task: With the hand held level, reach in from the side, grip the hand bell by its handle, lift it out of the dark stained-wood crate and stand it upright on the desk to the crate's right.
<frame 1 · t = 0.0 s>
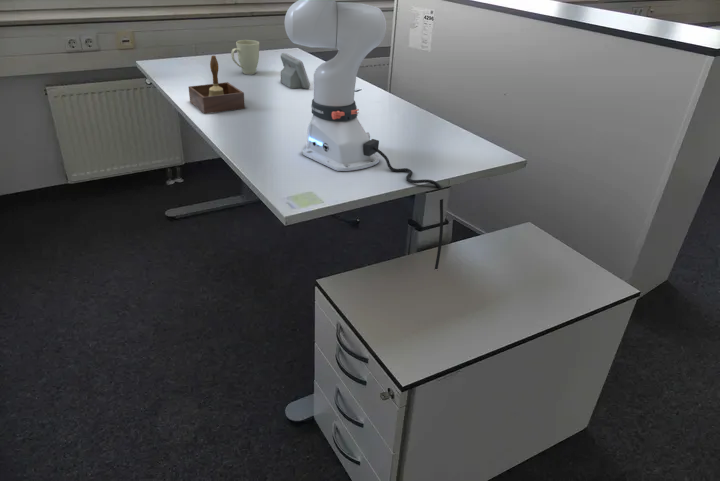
digital clock: (295, 85, 215), on the table
mug: (247, 74, 225), on the table
crate: (217, 105, 189), on the table
hand bell: (217, 104, 188), resting on crate
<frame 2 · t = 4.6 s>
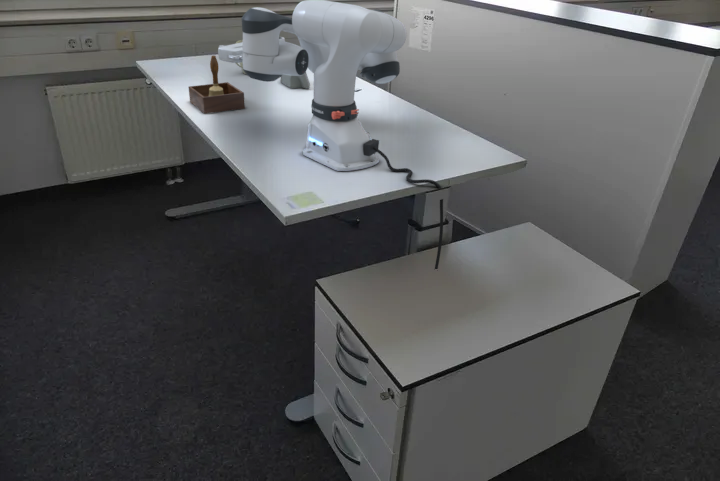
hand: (233, 45, 170), 22 cm above the table, tool horizontal, fingers open, 8 cm apart
nothing on the table moved.
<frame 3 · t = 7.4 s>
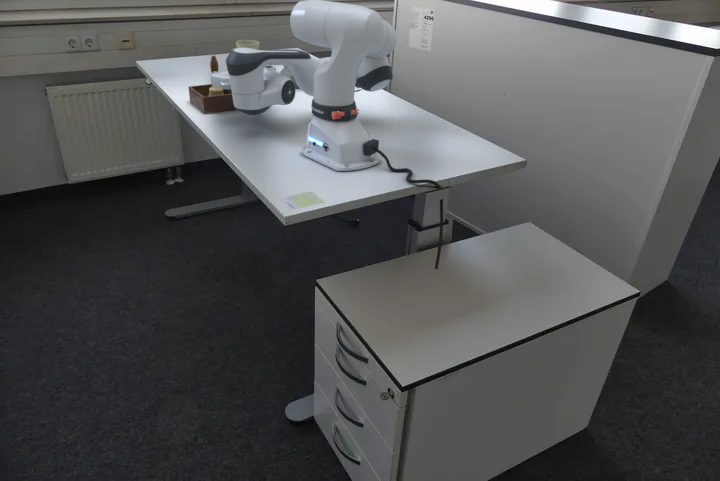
hand: (227, 71, 179), 12 cm above the table, tool horizontal, fingers open, 8 cm apart
nothing on the table moved.
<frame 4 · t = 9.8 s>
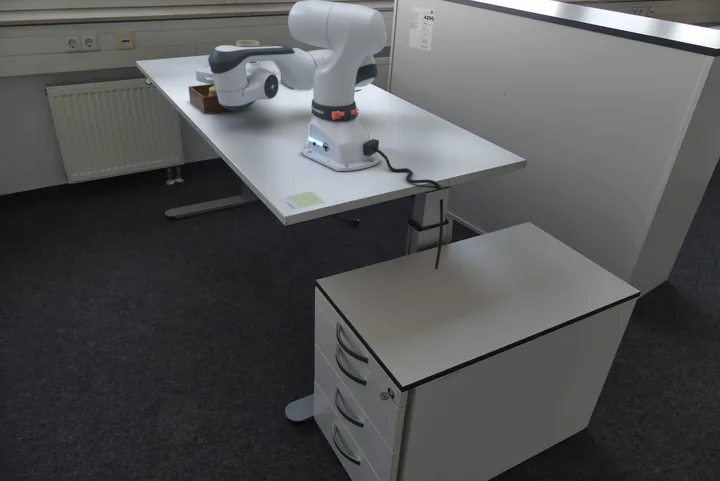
hand: (212, 66, 183), 13 cm above the table, tool horizontal, fingers closed on hand bell, 2 cm apart
hand bell: (217, 104, 188), resting on crate, touching gripper
everything else where it was.
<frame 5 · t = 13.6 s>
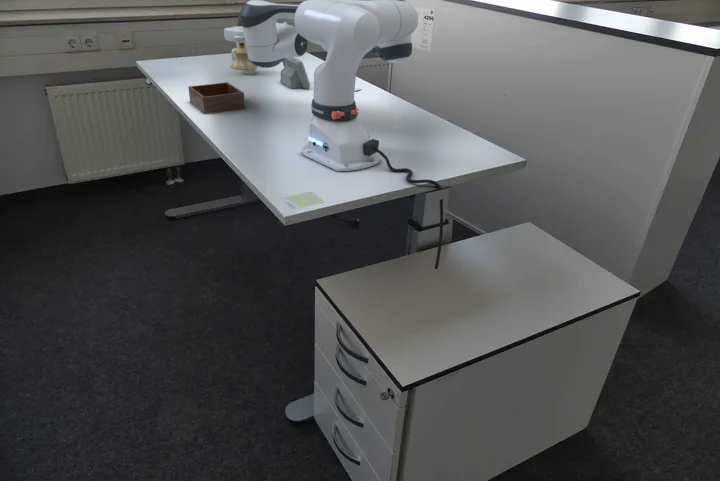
hand: (238, 28, 182), 24 cm above the table, tool horizontal, fingers closed on hand bell, 2 cm apart
hand bell: (242, 67, 188), point 11 cm above the table, touching gripper
everything else where it was.
when the fingers open (12 cm above the table, at t = 17.7 s): hand bell stays where it is, on the table.
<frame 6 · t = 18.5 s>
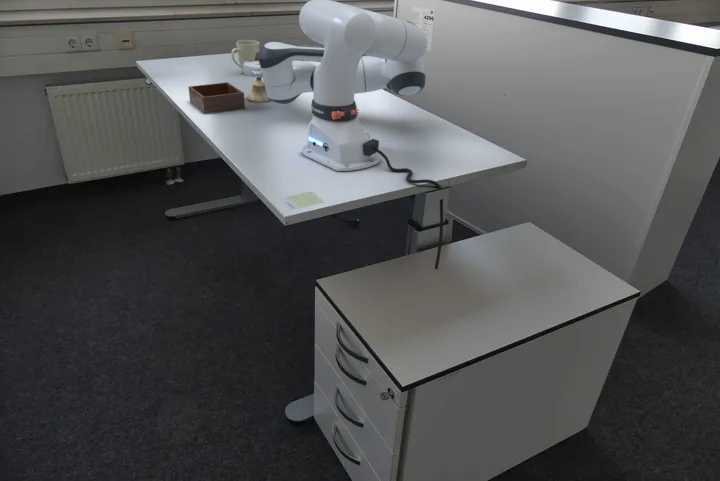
hand: (256, 61, 191), 13 cm above the table, tool horizontal, fingers open, 8 cm apart
hand bell: (259, 99, 197), on the table
everything else where it was.
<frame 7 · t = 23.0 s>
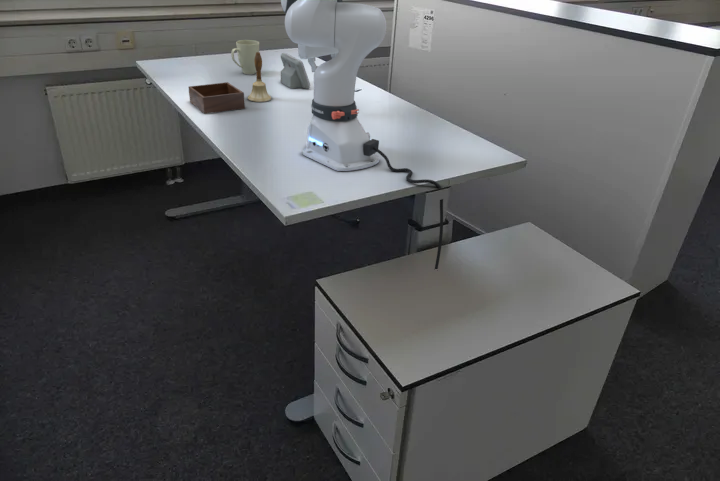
hand: (324, 69, 186), 13 cm above the table, tool pointing down, fingers open, 8 cm apart
nothing on the table moved.
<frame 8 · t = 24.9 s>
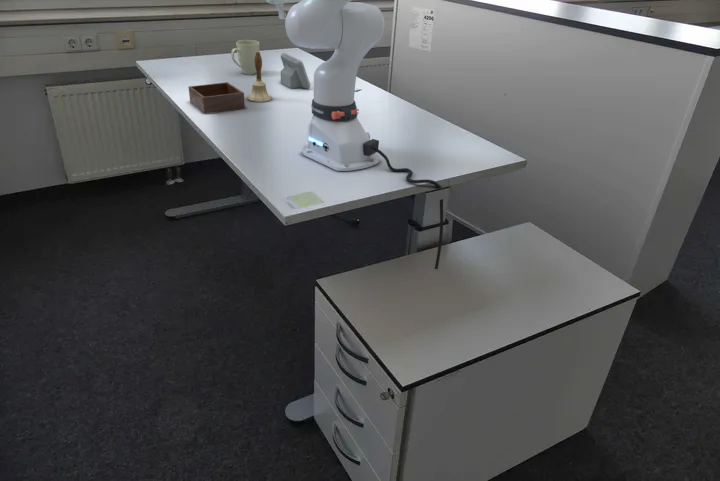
hand: (293, 17, 175), 29 cm above the table, tool pointing down, fingers open, 8 cm apart
nothing on the table moved.
at the end: hand bell inside the target area (0.5 cm from its centre), on the table; hand bell tilted 0°; hand bell touching table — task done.
